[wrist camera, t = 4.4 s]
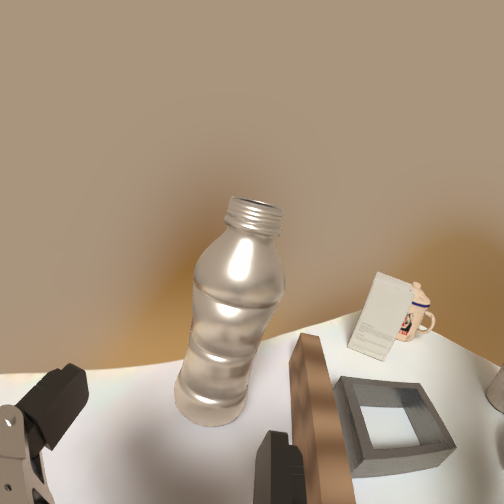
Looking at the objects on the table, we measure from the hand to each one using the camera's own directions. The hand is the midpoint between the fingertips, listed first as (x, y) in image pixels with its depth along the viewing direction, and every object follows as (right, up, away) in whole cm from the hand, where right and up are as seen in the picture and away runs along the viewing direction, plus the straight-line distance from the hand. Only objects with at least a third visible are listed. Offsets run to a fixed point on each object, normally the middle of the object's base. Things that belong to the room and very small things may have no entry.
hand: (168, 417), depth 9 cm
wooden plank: (+9, -11, +14) cm, 20 cm away
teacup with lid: (+35, -11, +41) cm, 55 cm away
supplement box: (+24, -10, +34) cm, 43 cm away
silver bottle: (-1, -9, +14) cm, 17 cm away
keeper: (+18, -14, +13) cm, 27 cm away
